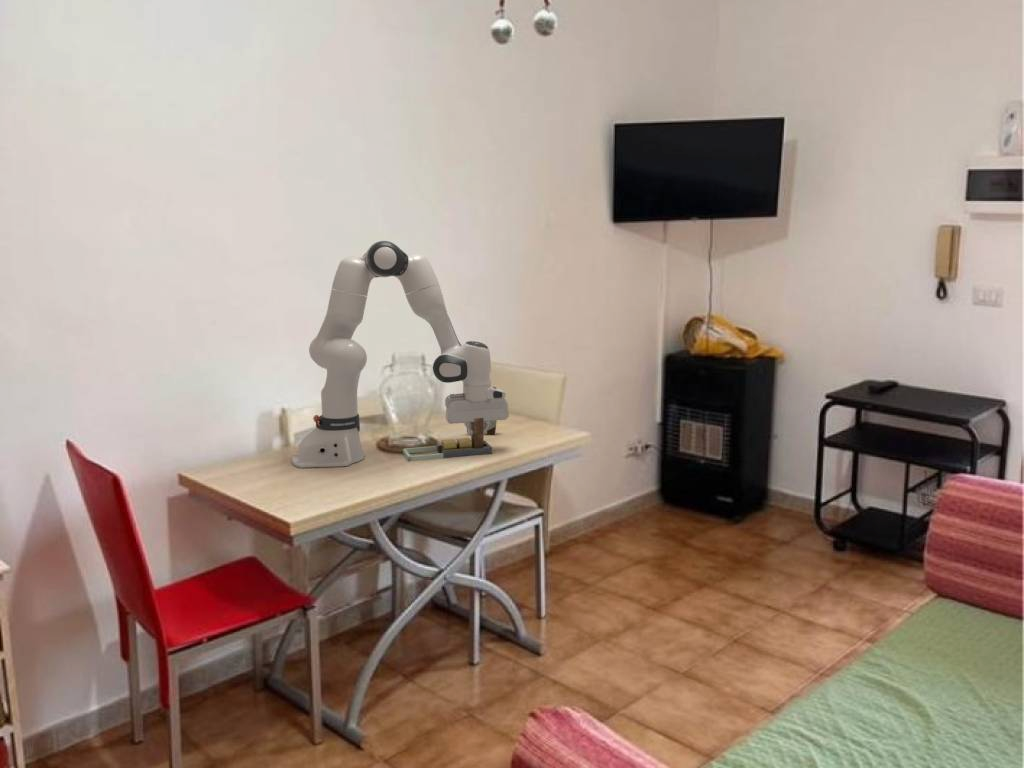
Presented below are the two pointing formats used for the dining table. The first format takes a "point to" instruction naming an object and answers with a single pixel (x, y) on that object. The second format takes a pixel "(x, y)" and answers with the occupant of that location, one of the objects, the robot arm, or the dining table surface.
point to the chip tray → (422, 457)
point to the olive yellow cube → (464, 443)
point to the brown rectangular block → (477, 433)
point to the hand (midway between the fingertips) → (477, 434)
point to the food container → (491, 428)
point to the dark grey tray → (465, 451)
